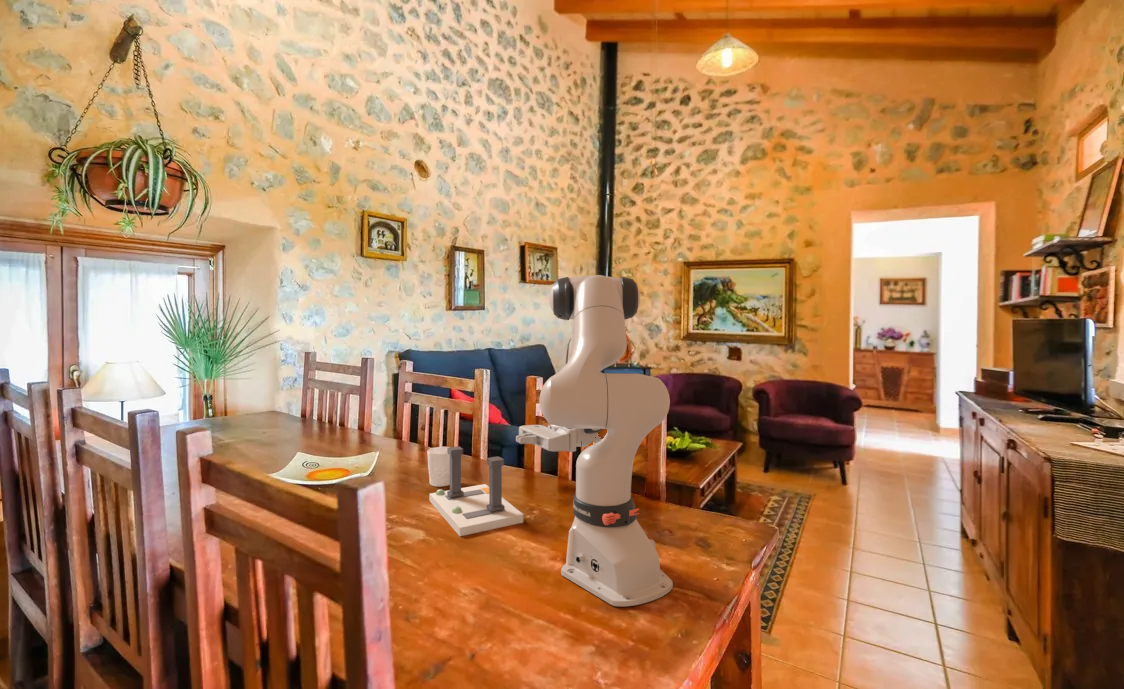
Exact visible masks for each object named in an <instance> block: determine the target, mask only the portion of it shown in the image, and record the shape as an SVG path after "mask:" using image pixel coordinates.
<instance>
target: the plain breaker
mask: <svg viewBox="0 0 1124 689" xmlns="http://www.w3.org/2000/svg"><path fill="white" fill-rule="evenodd" d="M486 464H487V466H489V468H488V475H489V477H488V478H489V485H488V486H489V504H488V505H487V509H488V510H489V511H490V512H493V511H498V510H503V509H505V506H504V505H503V504H502V498H503V496H502V494H503V492H502V491H503V490H502V489H503V488H502V485H503V484H502V483H503V482H502V475H503V474H502V473H503V472H502V469H503V468H502V467H504V466H505V459H504V458H502V457H500V456H499V455H498V456H491V457H486Z"/></svg>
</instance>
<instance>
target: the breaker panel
mask: <svg viewBox="0 0 1124 689" xmlns="http://www.w3.org/2000/svg"><path fill="white" fill-rule="evenodd" d="M461 490H462V491H463V492H464V495H462V496H457V497H451V498H450V497H449V496H448V495H447V491H450V489H449V490H444V489H443V488H441V489H440V488H439V489H437V490H436V492H432V493H431V492H430V493H429V497H428V498H429V502H430V504H432V506H433V507H434V508H435V509H436V510H437V512H438V513H439V514H440V515H441V517H443V519H445V521H446V522H447V523H448V524H449V525H450V526H451V528H452V529H453V530H454V531H455V532H456V534H457V535H458V536H459V537H465V536H469V535H472V534H473V535H474V534H476V533H477V534H478V533H482V532H487V531H491V530H494V529H499V528H504V527H508V526H509V527H510V526H512V525H514V526H515V525H517V524H523V523H524V513H523V512H521V511H520V510H518V508H517V507H515V506H513V505H512V504H511V503H510V502H509V501H508V500H506V499H505V498H504V497H502V504H503V505H504V506H505V509H503V510H498V511H493V512H490V511H489V510H488V509H487V505H488V504H489V485H487V484H486V483H483V484H479V485H472V486H471V485H470V486H467V487H461Z"/></svg>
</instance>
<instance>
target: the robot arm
mask: <svg viewBox="0 0 1124 689" xmlns="http://www.w3.org/2000/svg"><path fill="white" fill-rule="evenodd" d="M548 299H549V305H550V308H551V310H552V312H553V316H555V317H556V318H557V319H560V320H564V321H569V320H571V336H570V339H569V340H568V343H567V349H566V357H565V358H566V359H565V365H563V367H562V368H561V369H560V370H559V371H558V372H556V373H555V374H554V375H553V374H552V376H550V377H549V378H548V379H547V380H546V381H545V383H543V386H542V387H541V390H540V394H539V399H538V401H539V403H538V404H539V408H540V411H541V412H540V413H541V414H542V416H543V418H544V419H545V420H546V421H547V423H548V424H549V425H547V426H546V425H543V424H527V425H525V424H524V425H520V426H519V427H518V435H516V436H515V442H517V443H519V444H520V445H522V444H523V445H524V444H525V445H526V444H528V445H529V444H530V445H534V446H536V447H539V448H542V449H544V450H546V451H549V452H569V453H573V452H576V451H577V447H578V448H579V447H580V448H585V449H583V450H582V452H580V454H579V455H578V457H577V459H576V463H575V468H576V469H575V493H574V495H573V499H572V501H573V502H572V506H573V507H572V508H573V515H574V519H573V522H572V525H571V527H570V528H569V530H568V538H567V548H566V549H567V550H566V559H565V561H566V562H565V564H563V566H562V567H561V569H560V570H561V571H560V574H561V576H563V577H564V578H566V579H568V580H569V581H571V582H573V583H574V584H576V585H577V586H580V587H581V588H583V589H584V590H585V591H587V592H589V593H590V594H592V595H594V596H595V597H597V598H599V599H601V600H603V601H604V602H606V603H607V604H609V605H611V606H613V607H631V606H638V605H642V604H645V603H646V604H647V603H649V602H652V601H655V600H658V599H660V598H662V597H664V596H665V595H667V594H668V593H669V592H671V591H672V589H673V588H674V587H673V586H674V583H673V580H672V579H671V578H670V577H669V576H668V575H667V574H666V573H665V572H664V571H663V570H662V569H661V563H660V557H659V553H658V551H657V549H656V548H657V546H656V541H655V540H654V539H649V538H648V536H647V534H646V532H645V530H644V529H643V528H642V526H641V525H640V523H639V522H638V519H637V517H638V516H637V515H640V512H638V511H640V508H636V505H635V503H634V499H633V495H631V494H632V476H633V466H634V460H635V456H636V454H637V452H638V449H639V447H640V445H641V443H642V442H643V440H644V439H645V438H646V437H647V436H648V435H649V433H650V432H651V431H652V430H654V429H655V428H657V427H658V426H659V425H661V424H662V423H663V422H664V420H665V419H666V417H667V415H668V413H669V410H670V404H671V399H670V393H669V390H668V389H667V386H666V385H665V383H664V382H663V380H661V379H660V377H656V376H652V375H647V374H642V373H619V372H618V373H616V372H615V373H612V372H610V373H607V372H606V373H605V372H601V371H603V370H604V369H606V368H608V367H610V366H612V365H614V364H616V363H617V362H619V361H620V360H621V359H622V357H623V356H624V355H625V353H626V351H627V349H628V348H627V346H628V342H627V340H628V339H627V330H626V321H625V320H629V319H633V317H634V316H636V314H637V313H638V310H639V307H640V304H641V292H640V290H639V287H638V284H637V282H636V281H635V280H634V279H633V278H630V277H624V276H620V277H614V276H606V275H602V274H595V275H594V274H593V275H585V276H584V275H583V276H575V277H569V276H566V277H561V278H557V279H556V280H555V281H554V282H553V283H552V286H551V289H550V292H549V298H548ZM602 429H607V433H606V435H605V436H604V438H603V439H600V438H601V437H599V436H598V435H599V434H598V432H600V431H601V430H602ZM595 437H596V438H595ZM581 441H582V447H581ZM592 441H593V442H594V443H595V444H594V445H591V446H588V444H590V443H591V442H592ZM583 446H584V447H583ZM586 446H588V447H586Z"/></svg>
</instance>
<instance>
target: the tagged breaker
mask: <svg viewBox="0 0 1124 689" xmlns="http://www.w3.org/2000/svg"><path fill="white" fill-rule="evenodd" d="M448 447H449V448H447V453H448V454H449V455H450V485H449V490H450V491H447V490H446V491H447V495H448V496H449V497H450V498H451V497H457V496H462V495H464V492H463V491H462V490H461V488H462V456H463V455H464V448H462V447H461V446H459V445H458V446H457V445H456V446H448Z"/></svg>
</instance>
